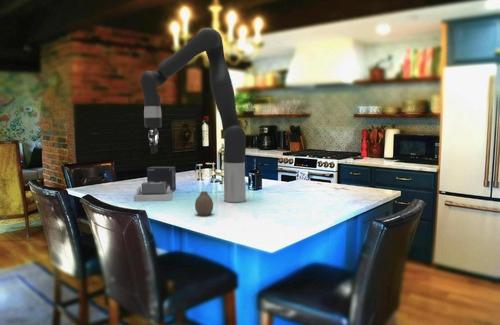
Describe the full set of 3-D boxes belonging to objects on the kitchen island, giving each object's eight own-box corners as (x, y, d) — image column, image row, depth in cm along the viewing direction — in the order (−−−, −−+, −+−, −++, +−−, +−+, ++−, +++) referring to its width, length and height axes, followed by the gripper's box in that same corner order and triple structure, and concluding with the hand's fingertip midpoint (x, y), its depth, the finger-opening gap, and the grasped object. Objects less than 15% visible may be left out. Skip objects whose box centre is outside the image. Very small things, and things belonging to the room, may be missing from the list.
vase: (204, 211, 157) (204, 189, 156) (217, 214, 153) (216, 191, 152) (191, 214, 152) (190, 192, 151) (204, 217, 148) (203, 194, 147)
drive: (165, 194, 186) (165, 181, 186) (164, 197, 181) (164, 183, 180) (143, 195, 185) (143, 182, 185) (141, 197, 180) (141, 184, 179)
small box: (176, 189, 206) (176, 166, 204) (172, 192, 199) (172, 168, 198) (151, 189, 207) (150, 166, 206) (146, 191, 200) (146, 167, 199)
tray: (172, 195, 190) (172, 185, 189) (171, 200, 179) (170, 189, 178) (137, 196, 187) (137, 185, 187) (134, 201, 177) (133, 190, 176)
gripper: (160, 116, 172) (161, 154, 174) (162, 116, 186) (163, 151, 188) (142, 116, 171) (143, 154, 173) (146, 116, 185) (147, 151, 187)
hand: (154, 152), depth 181 cm, fingers open, 8 cm apart
